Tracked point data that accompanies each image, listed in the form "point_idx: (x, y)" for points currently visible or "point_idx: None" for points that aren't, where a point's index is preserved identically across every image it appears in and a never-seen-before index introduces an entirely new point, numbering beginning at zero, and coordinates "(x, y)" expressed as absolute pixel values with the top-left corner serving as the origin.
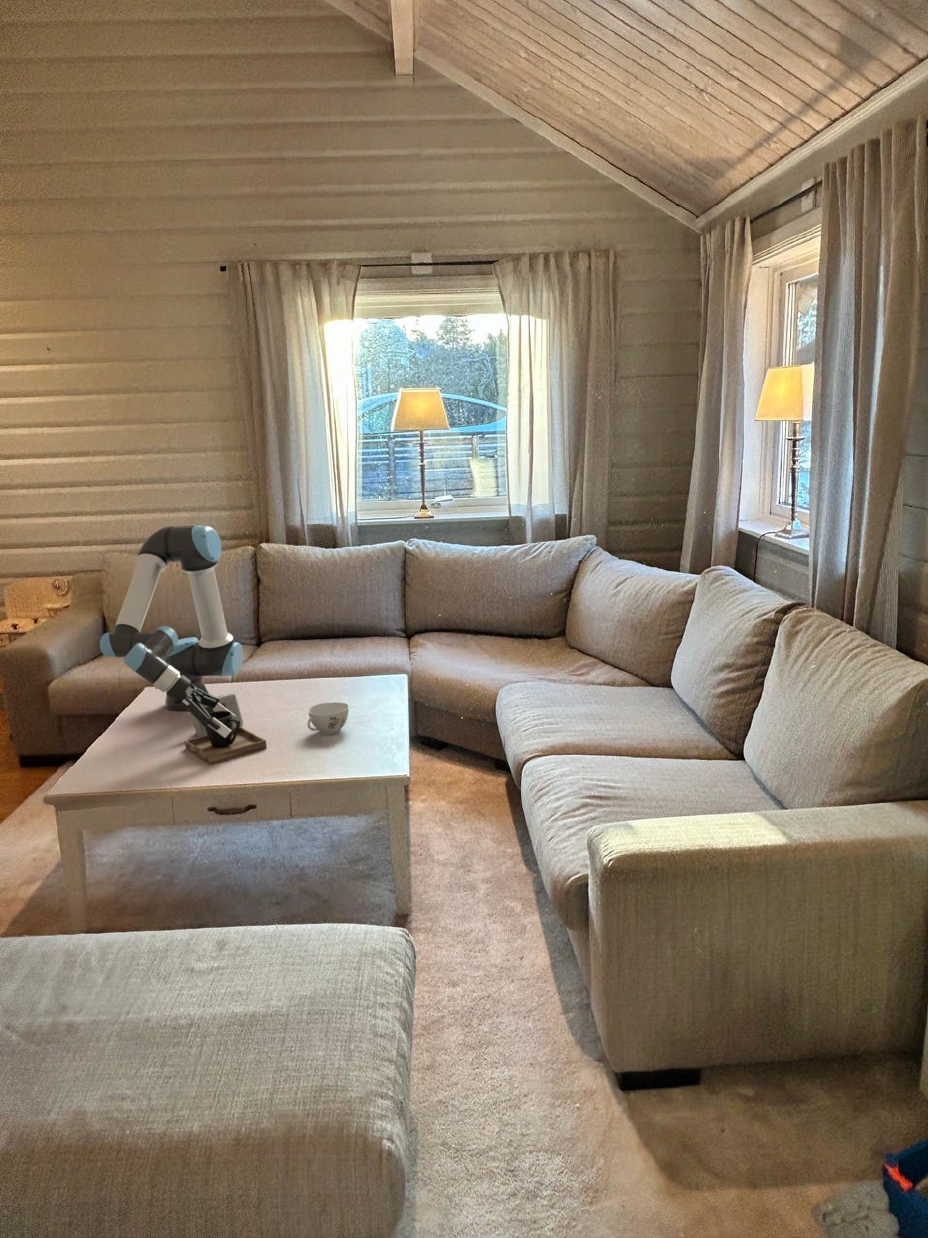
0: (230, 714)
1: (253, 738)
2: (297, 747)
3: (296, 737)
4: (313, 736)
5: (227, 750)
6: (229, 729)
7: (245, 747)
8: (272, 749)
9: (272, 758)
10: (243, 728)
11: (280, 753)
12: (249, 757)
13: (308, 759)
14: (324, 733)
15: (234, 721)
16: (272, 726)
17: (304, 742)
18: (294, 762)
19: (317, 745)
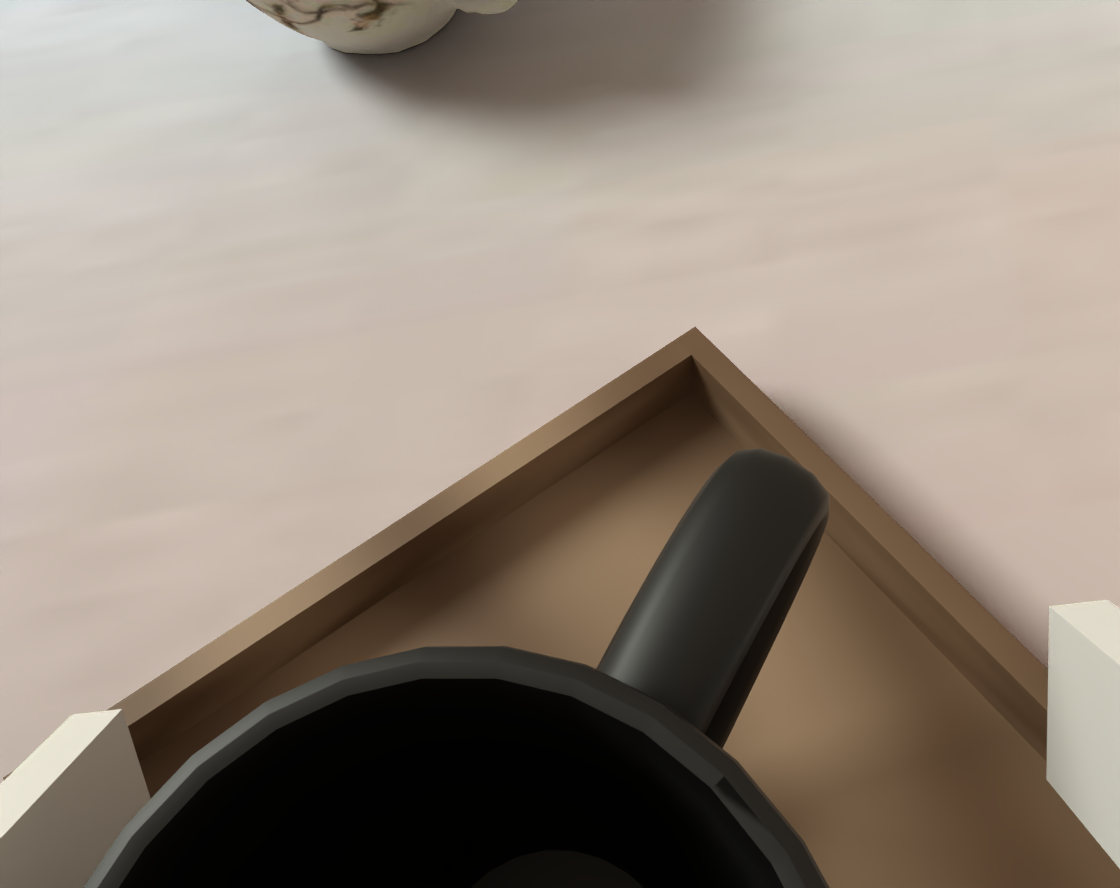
0: (460, 670)
1: (467, 529)
2: (705, 143)
3: (441, 193)
4: (457, 88)
5: (825, 836)
6: (1111, 626)
7: (892, 531)
8: (732, 324)
9: (997, 278)
10: (141, 694)
11: (854, 238)
12: (978, 509)
13: (1004, 27)
14: (447, 17)
15: (808, 535)
16: (24, 448)
17: (587, 118)
18: (1088, 98)
19: (678, 31)
